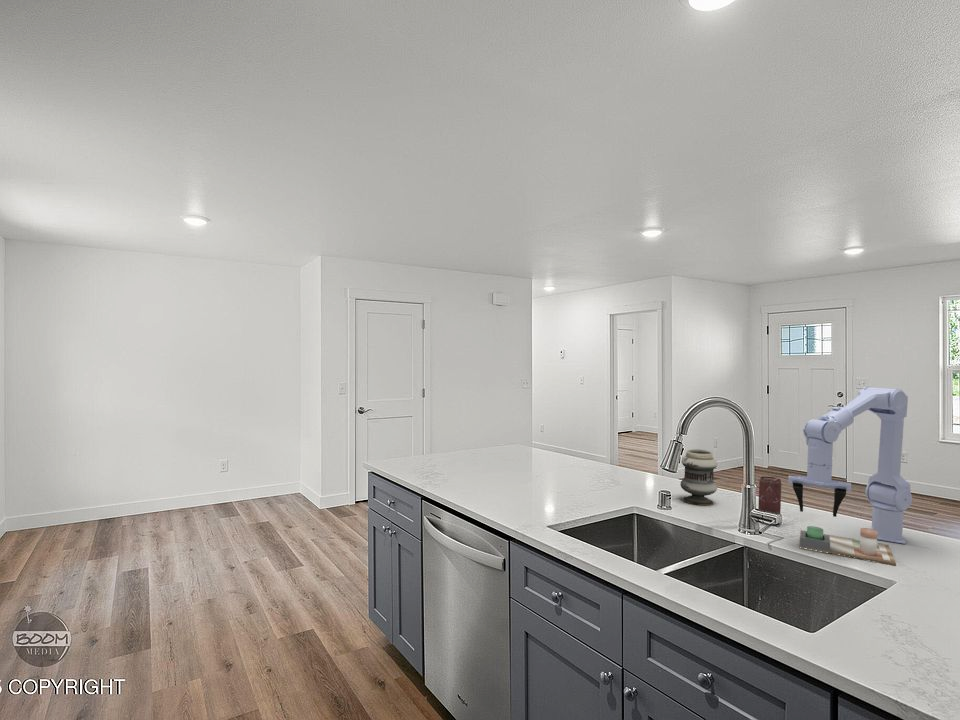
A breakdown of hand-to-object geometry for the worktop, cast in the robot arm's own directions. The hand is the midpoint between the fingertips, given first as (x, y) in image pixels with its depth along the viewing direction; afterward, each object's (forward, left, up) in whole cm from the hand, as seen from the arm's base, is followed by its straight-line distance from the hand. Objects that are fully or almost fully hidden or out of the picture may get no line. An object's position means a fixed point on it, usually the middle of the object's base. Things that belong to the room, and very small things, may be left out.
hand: (817, 513), depth 149 cm
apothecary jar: (-30, -35, -10) cm, 47 cm away
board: (-5, +7, -10) cm, 12 cm away
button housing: (0, 0, -10) cm, 10 cm away
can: (-18, -12, -10) cm, 24 cm away
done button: (0, 0, -7) cm, 7 cm away
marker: (-1, +12, -9) cm, 14 cm away
